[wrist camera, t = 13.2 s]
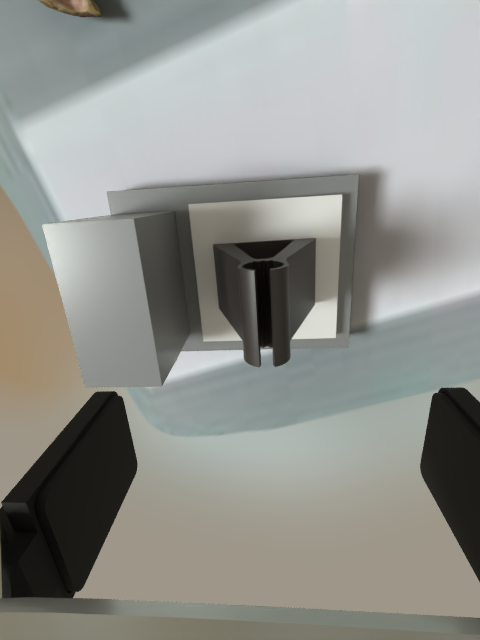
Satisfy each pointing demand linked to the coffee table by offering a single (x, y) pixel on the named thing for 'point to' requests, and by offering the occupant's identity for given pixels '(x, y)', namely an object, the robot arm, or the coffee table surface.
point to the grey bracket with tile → (192, 270)
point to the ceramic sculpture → (74, 7)
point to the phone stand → (266, 292)
